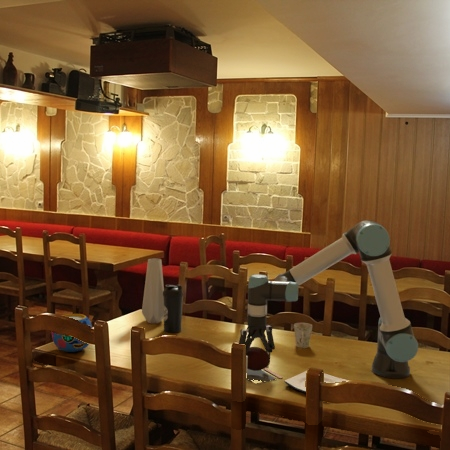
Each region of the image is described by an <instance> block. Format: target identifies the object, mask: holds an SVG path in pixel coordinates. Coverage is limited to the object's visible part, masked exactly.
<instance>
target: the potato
mask: <svg viewBox="0 0 450 450" xmlns="http://www.w3.org/2000/svg"><path fill="white" fill-rule="evenodd" d="M246 356H248V366H247V368H248V369H249V370H253V371H259V370H262V371H263V369H265V368H266V367H267V366H268V365H269V366H270V363H271V356H270V357H269V354H268V353H267V352H266V350H265V349H263V348H261V347H258V346H250V348H249V350H248V352H247V355H246Z"/></svg>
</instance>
